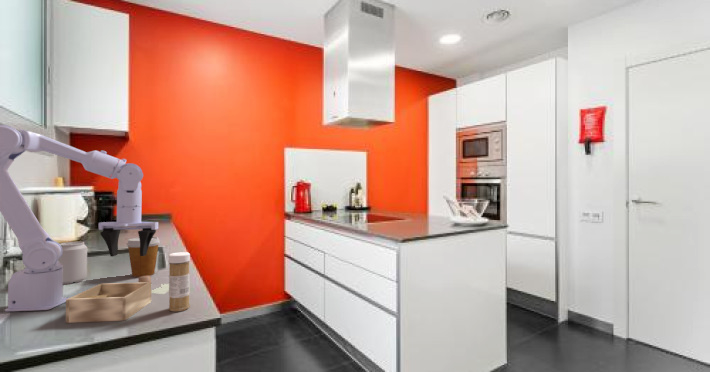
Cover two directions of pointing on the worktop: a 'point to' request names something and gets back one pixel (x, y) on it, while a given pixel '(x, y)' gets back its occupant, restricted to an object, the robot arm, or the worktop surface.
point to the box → (108, 302)
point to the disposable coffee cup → (143, 257)
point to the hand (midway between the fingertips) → (128, 255)
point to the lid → (158, 290)
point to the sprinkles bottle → (179, 281)
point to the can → (73, 262)
